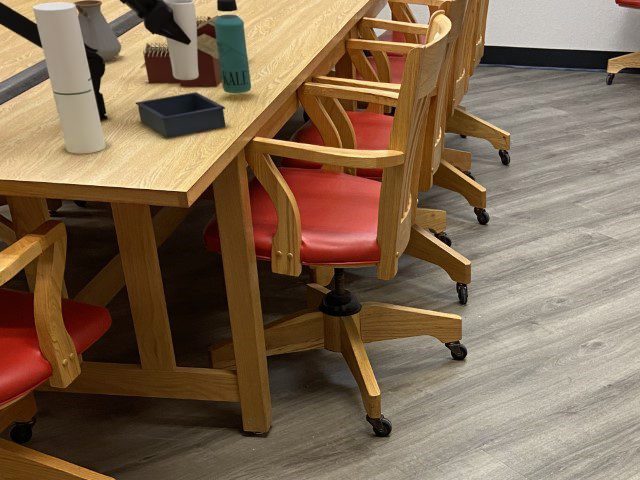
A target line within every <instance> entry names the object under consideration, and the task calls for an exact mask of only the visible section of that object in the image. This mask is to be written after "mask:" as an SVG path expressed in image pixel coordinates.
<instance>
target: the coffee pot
mask: <svg viewBox="0 0 640 480" xmlns="http://www.w3.org/2000/svg"><path fill="white" fill-rule="evenodd" d="M72 3H73V4H75V5H76V10H77V14H78V19H79V24H80V28H81V33H82V38H83V42H84V43H85V44H87V45H89V46H91V47H93V48H95V49H97V50H98V52H96V53H97V54H99V55H100V56H101V57H102V58H103V60H104V63H108V62H112V61H114V60H116V58H117V56H118V55H119V54H120V53H121V50H122V44H121V42H120V40H119V39H118V37H117V36H116V34H115V32H114V31H113V29H112V27H111V26H110V24H109V23H108V21H107V19H106V17H105V16H104V14H103V13H102V9H101V8H102V7H101V6H102V5H103V2H102V1H101V0H78V1H75V2H72Z"/></svg>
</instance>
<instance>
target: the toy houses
mask: <svg viewBox="0 0 640 480" xmlns="http://www.w3.org/2000/svg"><path fill="white" fill-rule="evenodd" d="M218 16H219V15H218V14H217V15H214V16H213V17H211V16H207V17H206V16H205V15H204V16H198V15H196V22H197V56H198V72H199V76H198V78H196V79H193V80H179V79H176V78H174V76H173V72H172V65H171V60H170V55H169V50H168V45H167V43H164V42H163V43H161V42H155V43H152V42H150V44H149V42H146V44H145V48H144V50H142V53H143V60H144V63H143V64H142V65H141V66H140V69H141V68H144V67H145V70H146V75H147V81H148V84H179V86H180V87H181V88H182V87H183V88H184V87H185V88H187V87H188V88H191V87H192V88H194V87H195V88H200V87H201V88H217V87H218V86H219V85H220V83H221V80H222V78H221V76H220V75H221V70H220V64H219V63H220V62H219V55H218V52H217V51H218V47H217V44H216V43H217V42H216V41H217V40H216V38H215V37H216V31H215V25H214V21H215V20H216V19H217V17H218Z"/></svg>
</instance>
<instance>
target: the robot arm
mask: <svg viewBox="0 0 640 480" xmlns="http://www.w3.org/2000/svg"><path fill="white" fill-rule="evenodd" d="M119 2H120V3H122V4H123V5H126V6H127V7H128V8H129V9H131V10H132V11H133V12H134V13H135V14H136V16H137V17H138V18H139V19H141V20H142V21H143V26H144V28H145V30H147V31H148V32H149V33H150V34H152V35H157V36H161V37H163V38H166V37H167V38H170V39H173V40H175V41H178V42H181V43H184V44H187V45H189V44H190V43H191V40H190V39H189V37H188V36H187V35H186V34H185V32H184V31H183V30H182V29H181V28H180V26H179V25H178V24H177V23H176V22H175V20H174V16H173V10H172V8H171V7H170V6H169V5H168V4H167V3H166V2H164V1H163V0H119ZM0 25H1V26H2V27H4V28H6V29H8V30H9V31H11V32H12V33H15V34H16V35H18V36H20V37H21V38H23V39H25V40H26V41H28V42H29V43H32V44H33V45H35V46H37V47H38V48H40V49H42V50H43V48H42V44H41V39H40V35H39V31H38V27H37V23H36V22H35V21H33V20H31V19H30V18H28V17H26V16H25V15H23V14H21V13H20V12H18V11H16V10H15V9H13V8H11V7H9V6H8V5H6V4H5V3H3V2H1V1H0ZM84 47H85V52H86V57H87V61H88V66H89V71H90V75H91V80H92V85H93V90H94V94H95V99H96V104H97V108H98V113H99V118H100V121H105V120H108V119H109V117H108V115H106V114H107V108H106V104H105V99H104V94H103V93H102V92H100V90H101V84H102V78H103V77H104V75H105V72H106V62H104V60H103V58H102V57H101V56H100V55H99V54H97V53H96V52H98V50H97V49H95V48H93V47H91V46H89V45H87V44H85V43H84Z"/></svg>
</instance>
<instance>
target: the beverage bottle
mask: <svg viewBox="0 0 640 480" xmlns="http://www.w3.org/2000/svg"><path fill="white" fill-rule="evenodd" d="M216 10H217V11H219V12H223V13H224V12H226V13H227V12H229V13H230V12H236V11H237V10H238V6H237V1H236V0H216ZM214 25H215V31H216V37H215V38H216V40H217V41H216V42H217V43H216V44H217V47H218V51H217V52H218V55H219V62H220V63H219V64H220V70H221V75H220V76H221V78H222V80H221V82H220V83H221V88H222V90H223V91H224V92H225V93H228V94H244V93H248V92H250V91H251V89H252V78H251V73H250V64H249V58H248V51H247V41H246V34H245V33H246V32H245V22H244V20H243V19H242V18H241V17H240V16H239V15H237V14H220V15H218V17H217V19H216V20H215V21H214Z"/></svg>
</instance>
